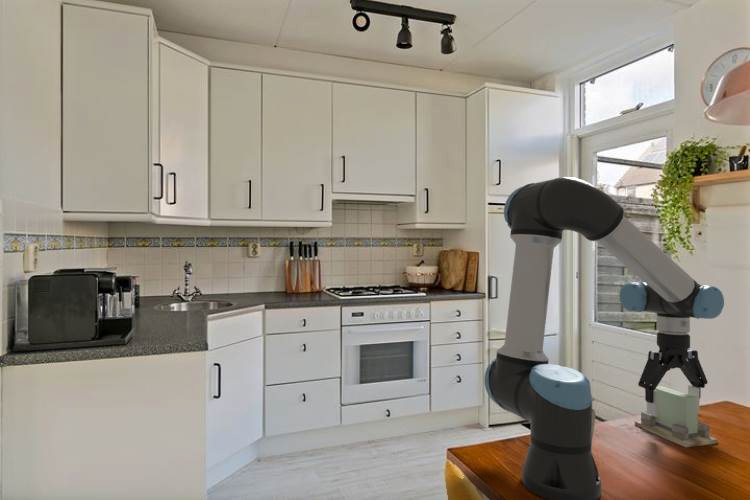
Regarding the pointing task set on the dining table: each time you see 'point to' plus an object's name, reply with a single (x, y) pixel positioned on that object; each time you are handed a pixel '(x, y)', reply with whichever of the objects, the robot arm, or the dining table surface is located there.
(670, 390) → the door panel
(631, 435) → the dining table surface
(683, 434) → the hinge bracket
